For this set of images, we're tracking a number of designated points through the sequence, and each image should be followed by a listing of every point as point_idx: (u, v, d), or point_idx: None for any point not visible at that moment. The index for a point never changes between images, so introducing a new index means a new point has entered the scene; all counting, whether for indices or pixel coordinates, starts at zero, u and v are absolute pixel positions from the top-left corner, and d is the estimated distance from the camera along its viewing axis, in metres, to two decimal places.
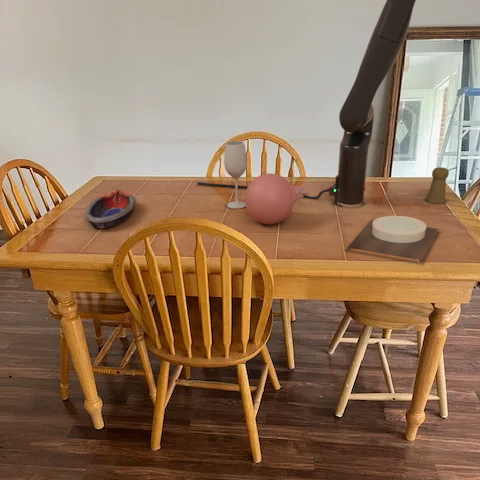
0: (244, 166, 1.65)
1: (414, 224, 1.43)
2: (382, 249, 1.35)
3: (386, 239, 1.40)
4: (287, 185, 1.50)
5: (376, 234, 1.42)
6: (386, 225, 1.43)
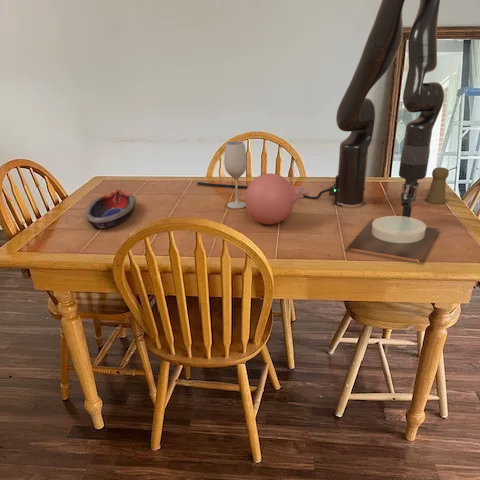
0: (244, 166, 1.65)
1: (414, 224, 1.43)
2: (382, 249, 1.35)
3: (386, 239, 1.40)
4: (287, 185, 1.50)
5: (376, 234, 1.42)
6: (386, 225, 1.43)
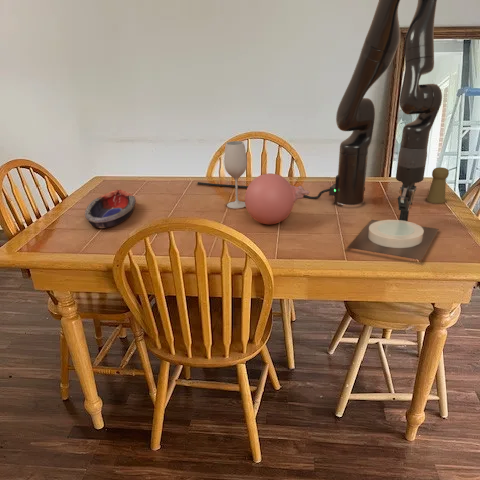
0: (244, 166, 1.65)
1: (411, 228, 1.40)
2: (382, 249, 1.35)
3: (383, 244, 1.37)
4: (287, 185, 1.50)
5: (373, 239, 1.40)
6: (383, 229, 1.40)
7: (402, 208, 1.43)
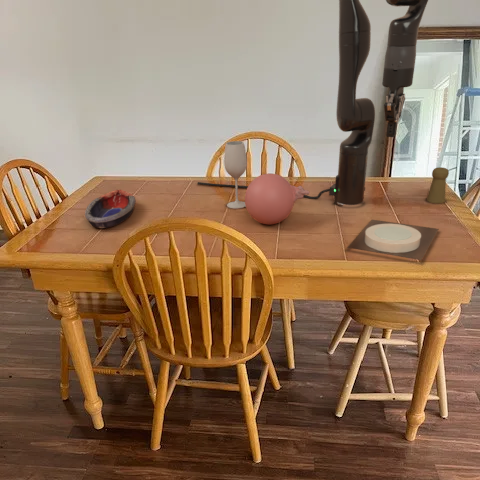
0: (244, 166, 1.65)
1: (408, 233, 1.38)
2: None
3: (379, 249, 1.35)
4: (287, 185, 1.50)
5: (369, 243, 1.37)
6: (379, 234, 1.38)
7: (389, 118, 1.31)
